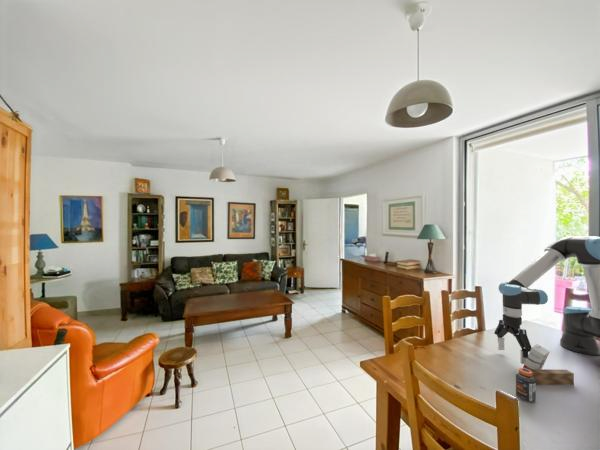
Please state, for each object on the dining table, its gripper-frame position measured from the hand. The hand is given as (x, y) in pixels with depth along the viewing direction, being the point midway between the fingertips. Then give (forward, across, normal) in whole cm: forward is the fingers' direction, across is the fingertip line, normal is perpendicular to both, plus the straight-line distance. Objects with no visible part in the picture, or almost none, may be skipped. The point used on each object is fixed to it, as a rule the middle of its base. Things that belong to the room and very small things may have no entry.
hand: (512, 356), depth 128 cm
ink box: (+2, +10, 0) cm, 10 cm away
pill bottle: (+2, +28, -19) cm, 34 cm away
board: (+2, +19, 0) cm, 19 cm away
